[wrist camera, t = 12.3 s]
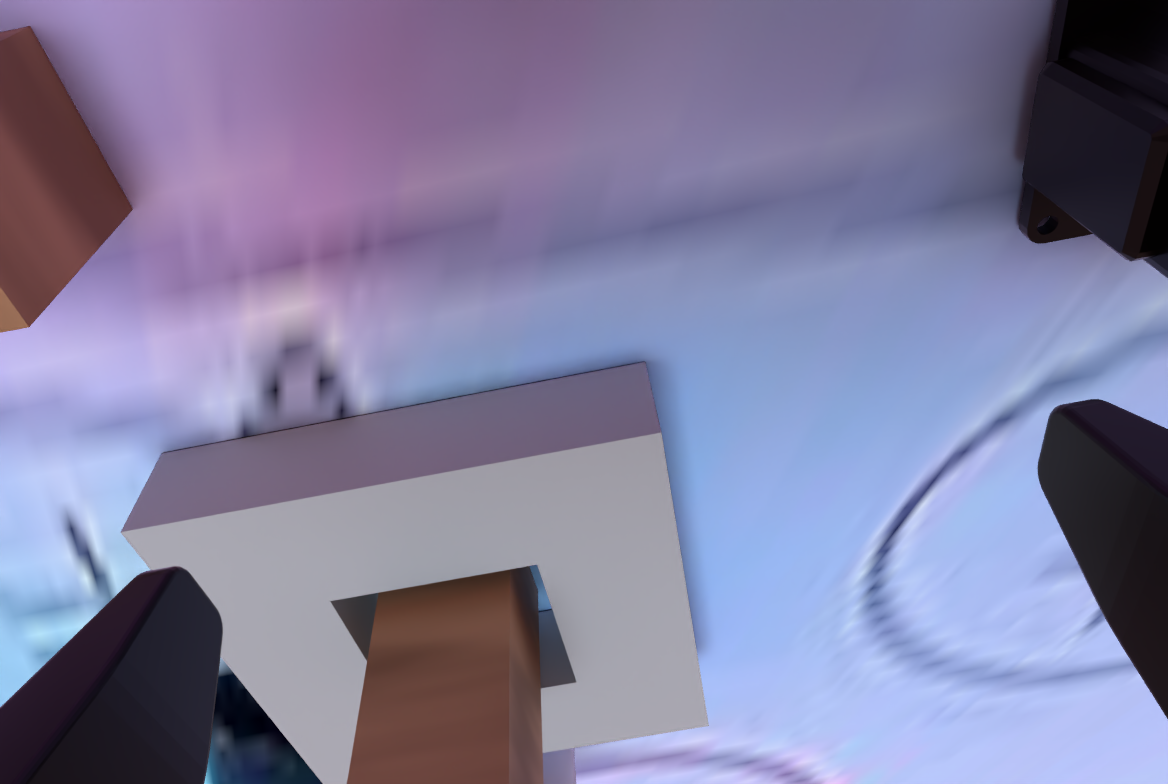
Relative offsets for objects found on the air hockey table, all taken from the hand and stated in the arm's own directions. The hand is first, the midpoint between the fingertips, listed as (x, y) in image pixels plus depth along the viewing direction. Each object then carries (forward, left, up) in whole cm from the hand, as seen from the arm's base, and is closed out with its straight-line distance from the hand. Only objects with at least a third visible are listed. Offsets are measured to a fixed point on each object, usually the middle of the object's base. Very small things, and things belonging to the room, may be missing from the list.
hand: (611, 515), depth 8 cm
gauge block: (+6, +17, -12) cm, 21 cm away
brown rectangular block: (+6, +14, -12) cm, 19 cm away
